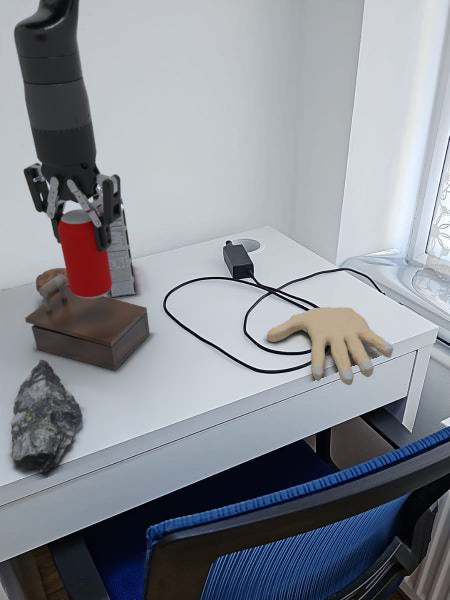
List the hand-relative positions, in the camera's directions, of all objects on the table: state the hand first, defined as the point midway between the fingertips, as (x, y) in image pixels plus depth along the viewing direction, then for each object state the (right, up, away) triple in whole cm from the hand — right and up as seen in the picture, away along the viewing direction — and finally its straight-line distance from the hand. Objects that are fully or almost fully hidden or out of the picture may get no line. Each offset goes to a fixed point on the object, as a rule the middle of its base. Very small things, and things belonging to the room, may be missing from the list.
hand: (83, 244), depth 83 cm
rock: (-2, -28, -2) cm, 28 cm away
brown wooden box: (-1, -13, +11) cm, 17 cm away
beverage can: (0, -6, +5) cm, 8 cm away
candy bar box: (0, 0, +27) cm, 27 cm away
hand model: (+37, -8, +17) cm, 41 cm away
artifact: (-9, -5, +21) cm, 24 cm away
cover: (-2, -9, +9) cm, 13 cm away
